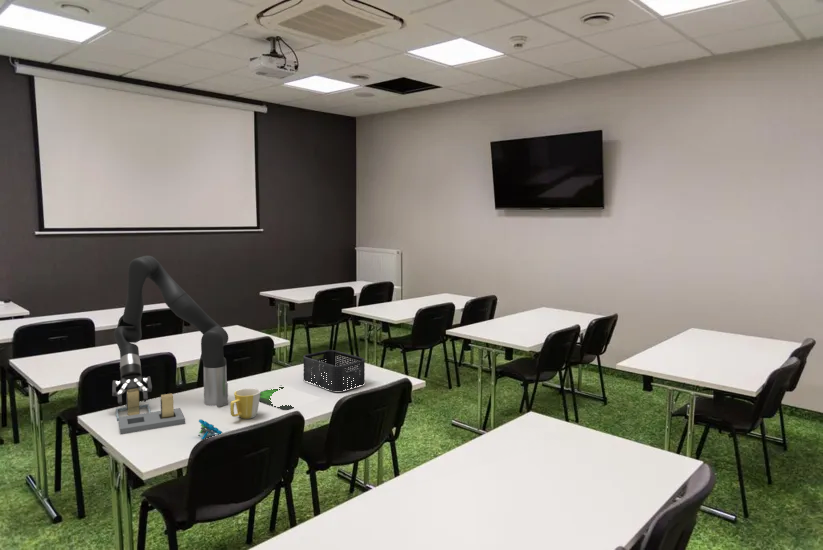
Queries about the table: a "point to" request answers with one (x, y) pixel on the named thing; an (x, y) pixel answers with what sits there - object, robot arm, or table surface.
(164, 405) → the seated billet
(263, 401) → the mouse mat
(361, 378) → the storage bin
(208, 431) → the blue and green toy
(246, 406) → the mug
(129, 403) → the brass billet
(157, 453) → the table surface
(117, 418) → the light blue tray
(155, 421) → the grey slotted fixture block
